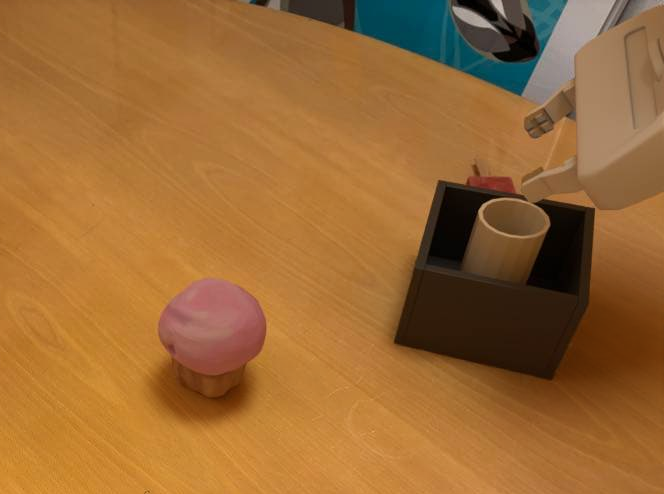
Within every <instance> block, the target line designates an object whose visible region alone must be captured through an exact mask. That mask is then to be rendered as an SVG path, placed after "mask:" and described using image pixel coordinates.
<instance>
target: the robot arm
mask: <svg viewBox="0 0 664 494" xmlns="http://www.w3.org/2000/svg"><path fill="white" fill-rule="evenodd" d="M573 59H574V65H573V66H574V77H573V78H572V79H571V78H570V79H569V80H568V81H566V82H565V83H563V84H561V86H559V88H557V89H556V90H555V91H554V92H553V93H552V94H551V95H550V96H549V97H548V98H547V99H546V100H544V102H543V103H542V104H541V105H539V106H537V107H536V108H534V109H532V110H530V111H528V112H527V113H526V114H525V115H524V118H523V128H524V130H525V132H527V133H528V135H529V137H530V138H531V139H539V138H540V137H542V136H543V135H545V134H548V133H550V132H552V131H553V130H554V129H555V124H557V123H558V122H560V121H561V120H562V119H564V118H565V117H566V116H567V115H569V114H571V112H573V111H575V139H576V140H575V141H576V154H575V155H573V156H571V157H569V158H567V159H565V160H564V161H563V165H561V166H558V167H554V168H551V169H547V170H545V169H544V168H543V166H539V167H538V168H535V169H534V170H532V171H531V172H530V173H526V174H525V175H523V176H522V177H521V185H520V192H521V195H524V197H525V198H526V199H527V201H528V202H530V203H536V202H538V201H540V200H542V199H547V198H548V197H551V196H552V195H564V194H574V193H580V192H581V191H583V190H584V193H585V194H586V195H587V197H588V198H589V200H590V201H591V202H592V203H593V205H594V206H595V208H596V209H598V210H599V211H620V210H623V209H627V208H629V207H632V206H634V205H637V204H639V203H641V202H643V201H646V200H649V199H651V198H653V197H656V196H658V195H660V194H662V193H664V4H660V5H657V6H654V7H651V8H649V9H647V10H646V9H645V11H642V12H640V13H638V14H636V15H634V16H632V17H631V18H628V19H626V20H625V21H623V22H621V23H619V24H617V25H615V26H614V27H611V28H610V29H608V30H606V31H604V32H602V33H600V34H599V35H596V36H595V37H594V38H591V39H590V40H588V41H587V42H586V43H585V44H584V45H583V46H582V47H581V48H579V49H578V51H576V52H575V54H574V58H573Z"/></svg>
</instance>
